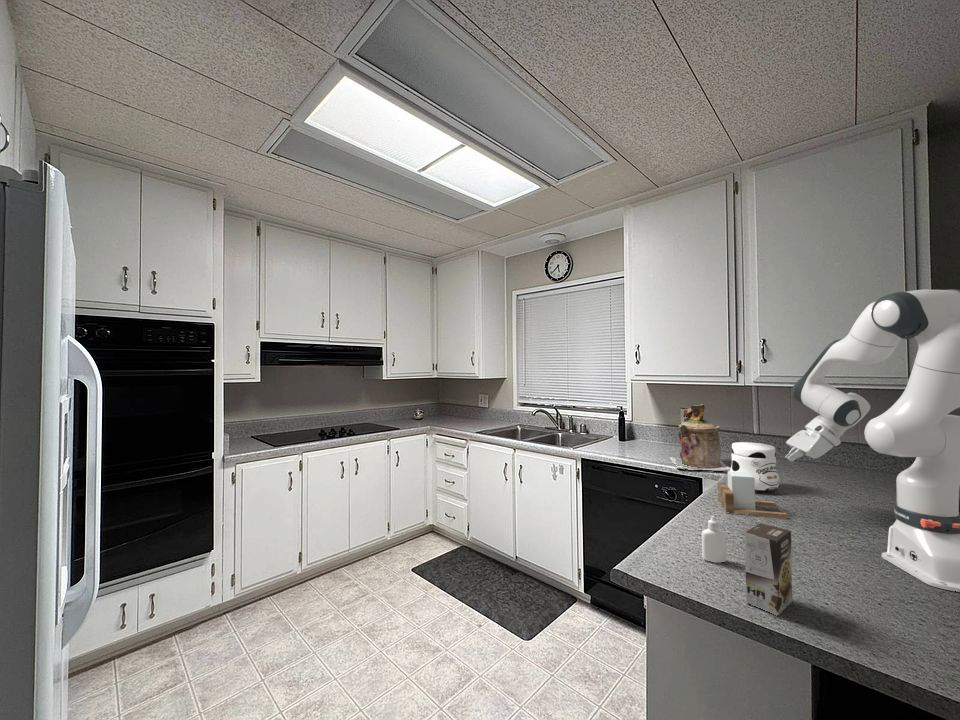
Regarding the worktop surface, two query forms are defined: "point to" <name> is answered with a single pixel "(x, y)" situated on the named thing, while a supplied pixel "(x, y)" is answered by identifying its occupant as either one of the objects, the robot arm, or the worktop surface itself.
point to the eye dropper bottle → (713, 542)
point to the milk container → (756, 464)
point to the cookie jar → (699, 442)
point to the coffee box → (768, 568)
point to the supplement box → (742, 489)
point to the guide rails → (761, 513)
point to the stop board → (725, 497)
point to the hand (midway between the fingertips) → (788, 459)
